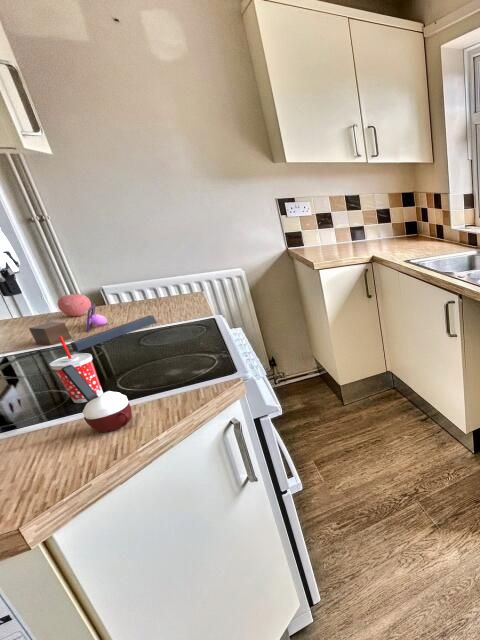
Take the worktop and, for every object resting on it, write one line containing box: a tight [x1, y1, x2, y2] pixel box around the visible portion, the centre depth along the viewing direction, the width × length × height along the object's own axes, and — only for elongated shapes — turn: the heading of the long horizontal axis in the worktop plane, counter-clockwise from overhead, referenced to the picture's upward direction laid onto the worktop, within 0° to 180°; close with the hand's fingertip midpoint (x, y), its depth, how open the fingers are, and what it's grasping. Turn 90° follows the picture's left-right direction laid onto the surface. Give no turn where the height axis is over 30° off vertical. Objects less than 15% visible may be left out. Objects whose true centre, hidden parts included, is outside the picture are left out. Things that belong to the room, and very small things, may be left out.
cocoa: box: [61, 365, 133, 433], centre depth 76 cm, size 10×6×12 cm, turn 53°
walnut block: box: [28, 321, 72, 346], centre depth 117 cm, size 5×5×5 cm
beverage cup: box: [48, 336, 104, 404], centre depth 85 cm, size 6×6×14 cm
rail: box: [70, 315, 157, 352], centre depth 120 cm, size 2×22×2 cm, turn 171°
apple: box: [57, 292, 92, 318], centre depth 137 cm, size 7×7×8 cm
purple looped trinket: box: [84, 302, 111, 333], centre depth 128 cm, size 7×5×9 cm
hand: (12, 294), depth 114 cm, fingers closed
